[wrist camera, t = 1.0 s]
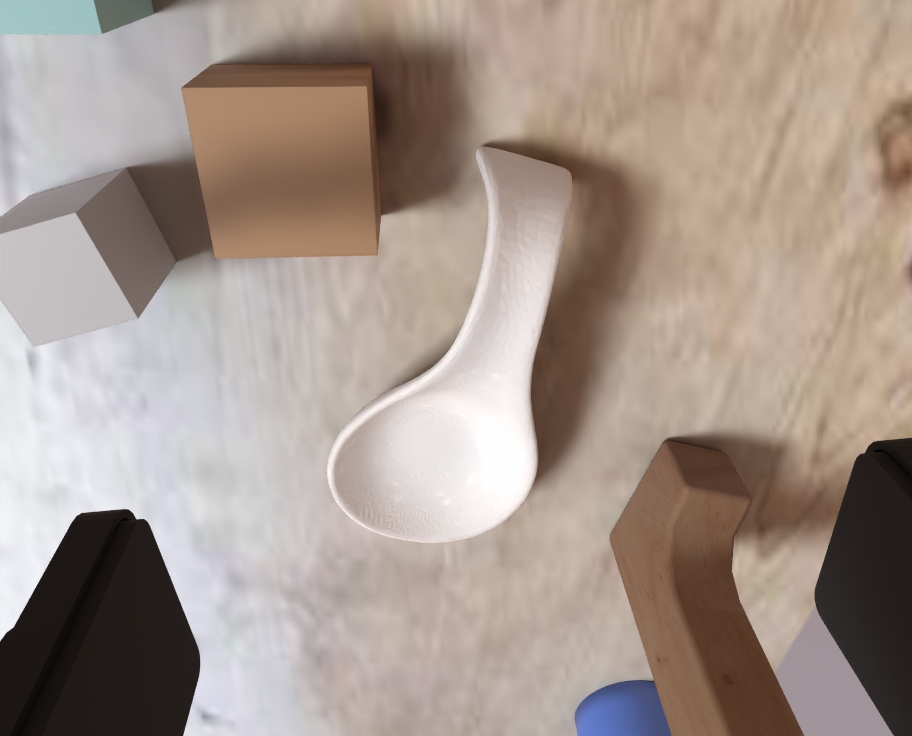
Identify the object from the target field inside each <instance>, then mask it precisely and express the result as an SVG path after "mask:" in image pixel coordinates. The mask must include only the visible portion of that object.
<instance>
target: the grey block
mask: <svg viewBox="0 0 912 736" xmlns="http://www.w3.org/2000/svg"><path fill="white" fill-rule="evenodd" d="M175 264H176V260H175V258H174V256H173V254H172V252H171V250H170V248H169V247H168V245H167V243H166V241H165V239H164V237H163V235H162V233H161V231H160V230H159V228H158V226H157V224H156V222H155V220H154V218H153V216H152V214H151V213H150V211H149V209H148V207H147V205H146V203H145V201H144V199H143V197H142V196H141V194H140V192H139V190H138V188H137V186H136V184H135V182H134V180H133V179H132V177H131V175H130V173H129V171H128V169H127V167H126V168H122V169H119V170H115V171H112V172H109V173H105V174H102V175H98V176H95V177H92V178H88V179H85V180H81V181H78V182H75V183H71V184H68V185H64V186H61V187H58V188H54V189H51V190H47V191H44V192H40V193H37V194H34V195H30V196H28V197H27V198H26V199H24V200H23V201H22V202H20V203H19V204H18V205H16V206H15V207H13V208H12V209H11V210H9V211H8V212H7V213H5V214H4V215H3V216H1V217H0V300H1V301H2V303H3V304H4V305H5V307H6V308H7V310H8V311H9V313H10V314H11V315H12V317H13V318H14V320H15V321H16V323H17V324H18V325H19V327H20V328H21V330H22V331H23V332H24V334H25V335H26V337H27V338H28V340H29V341H30V342H31V344H32V345H33V347H35V346H39V345H43V344H47V343H50V342H54V341H58V340H61V339H65V338H69V337H72V336H76V335H80V334H84V333H87V332H91V331H95V330H98V329H102V328H106V327H109V326H113V325H117V324H121V323H124V322H128V321H132V320H135V319H138V318H139V317H140V315H141V314H142V312H143V311H144V309H145V308H146V306H147V305H148V303H149V302H150V300H151V299H152V297H153V296H154V295H155V293H156V292H157V290H158V289H159V287H160V286H161V284H162V283H163V281H164V280H165V278H166V277H167V275H168V274H169V272H170V271H171V269H172V268H173V267H174V265H175Z"/></svg>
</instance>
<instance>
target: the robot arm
mask: <svg viewBox="0 0 912 736" xmlns="http://www.w3.org/2000/svg"><path fill="white" fill-rule="evenodd" d="M815 603H816V607H817V610H818V613H819V615H820V617H821V619H822V620H823V622H824V624H825V625H826V627H827V628H828V630H829V632H830V633H831V635H832V636H833V638H834V640H835V641H836V643H837V645H838V646H839V648H840V649H841V651H842V653H843V654H844V656H845V658H846V659H847V661H848V662H849V664H850V666H851V667H852V669H853V670H854V672H855V674H856V675H857V677H858V679H859V680H860V682H861V684H862V685H863V687H864V688H865V690H866V692H867V693H868V695H869V696H870V698H871V700H872V701H873V703H874V704H875V706H876V708H877V709H878V711H879V713H880V714H881V716H882V717H883V719H884V721H885V722H886V724H887V726H888V727H889V729H890V730H891V732H892V734H893V735H894V736H912V438H906V439H895V440H884V441H876V442H873V443H872V444H871V445H869V446H868V448H867V450H866V452H865V453H864V454H860V455H859V456H858V457H857V459H856V461H855V463H854V466H853V469H852V472H851V476H850V479H849V482H848V485H847V488H846V492H845V495H844V498H843V501H842V504H841V508H840V511H839V514H838V517H837V520H836V524H835V527H834V530H833V533H832V536H831V539H830V543H829V546H828V549H827V552H826V555H825V559H824V562H823V565H822V568H821V571H820V575H819V578H818V581H817V584H816V587H815ZM199 673H200V654H199V649H198V646H197V644H196V641H195V639H194V636H193V634H192V631H191V629H190V626H189V624H188V621H187V618H186V616H185V613H184V611H183V608H182V606H181V603H180V601H179V598H178V596H177V593H176V591H175V588H174V586H173V583H172V581H171V578H170V576H169V573H168V571H167V568H166V566H165V563H164V560H163V558H162V555H161V553H160V550H159V548H158V545H157V543H156V540H155V538H154V535H153V533H152V530H151V528H150V526H149V524H148V522H147V521H146V520H145V519H137V520H136V518H135V516H134V514H133V513H132V512H131V511H130V510H127V509H121V510H110V511H99V512H88V513H81V514H80V515H78V516H76V518H75V519H74V520H73V522H72V523H71V525H70V527H69V529H68V530H67V532H66V534H65V536H64V538H63V539H62V541H61V543H60V545H59V547H58V548H57V550H56V552H55V554H54V556H53V558H52V559H51V561H50V563H49V565H48V567H47V568H46V570H45V572H44V574H43V576H42V577H41V579H40V581H39V583H38V585H37V586H36V588H35V590H34V592H33V594H32V595H31V597H30V599H29V601H28V603H27V604H26V606H25V608H24V610H23V612H22V613H21V615H20V617H19V619H18V621H17V622H16V624H15V626H14V628H12V629H11V630H10V631H8V632H7V633H6V634H5V636H4V637H3V638H2V640H1V641H0V736H183V734H184V730H185V727H186V723H187V719H188V715H189V712H190V708H191V704H192V701H193V697H194V693H195V689H196V686H197V682H198V678H199Z"/></svg>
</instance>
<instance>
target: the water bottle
mask: <svg viewBox="0 0 912 736" xmlns="http://www.w3.org/2000/svg"><path fill="white" fill-rule="evenodd" d="M575 723H576V728H577V733H578V736H672V735H671V732H670V729H669V725H668V722H667V719H666V716H665V713H664V710H663V707H662V703H661V700H660V697H659V694H658V691H657V688H656V685H655V682H651V681H626V682H621V683H616V684H613V685H609V686H606V687H604V688H602V689H599V690H597V691H596V692H594V693H592V694H591V695H589V696H588V697H587V698H586V699H584V700H583V701H582V702H581V704H580V705H579V706H578V708H577V710H576V712H575Z"/></svg>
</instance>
